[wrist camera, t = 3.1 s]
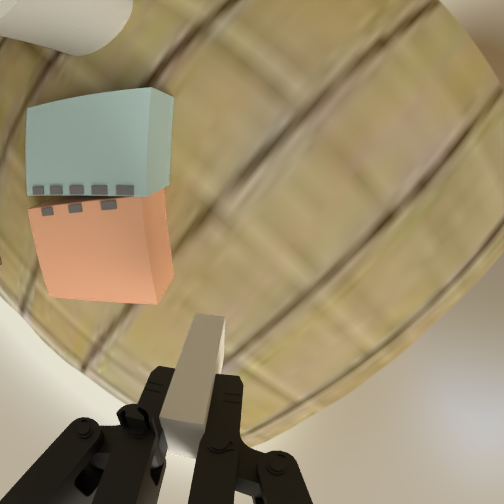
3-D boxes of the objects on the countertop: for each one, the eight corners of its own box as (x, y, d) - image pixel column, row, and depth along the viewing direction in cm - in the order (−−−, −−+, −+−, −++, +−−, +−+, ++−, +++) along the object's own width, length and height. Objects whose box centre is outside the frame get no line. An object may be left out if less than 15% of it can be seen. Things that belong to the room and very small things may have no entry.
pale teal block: (62, 109, 19) (25, 108, 15) (174, 97, 19) (150, 86, 15) (61, 184, 22) (25, 196, 17) (169, 184, 22) (145, 197, 17)
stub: (60, 195, 23) (26, 209, 18) (164, 184, 22) (139, 196, 17) (76, 273, 26) (48, 298, 21) (175, 274, 25) (156, 305, 20)
